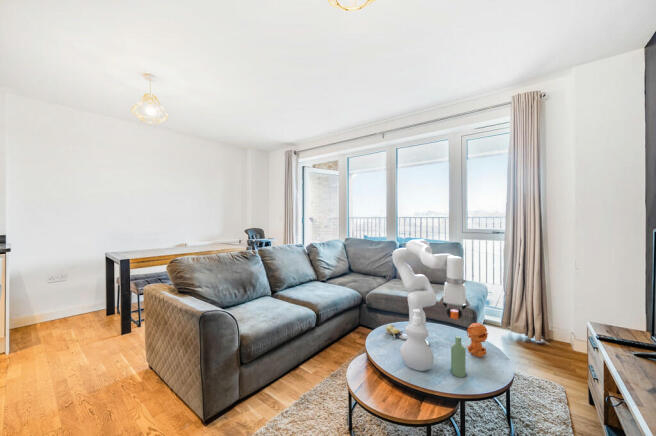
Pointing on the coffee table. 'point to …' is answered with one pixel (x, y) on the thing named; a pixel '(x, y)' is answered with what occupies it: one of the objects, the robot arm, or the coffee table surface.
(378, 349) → the coffee table surface
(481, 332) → the orange sculpture
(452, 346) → the bottle
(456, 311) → the cap
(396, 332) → the figurine
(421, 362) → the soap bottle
